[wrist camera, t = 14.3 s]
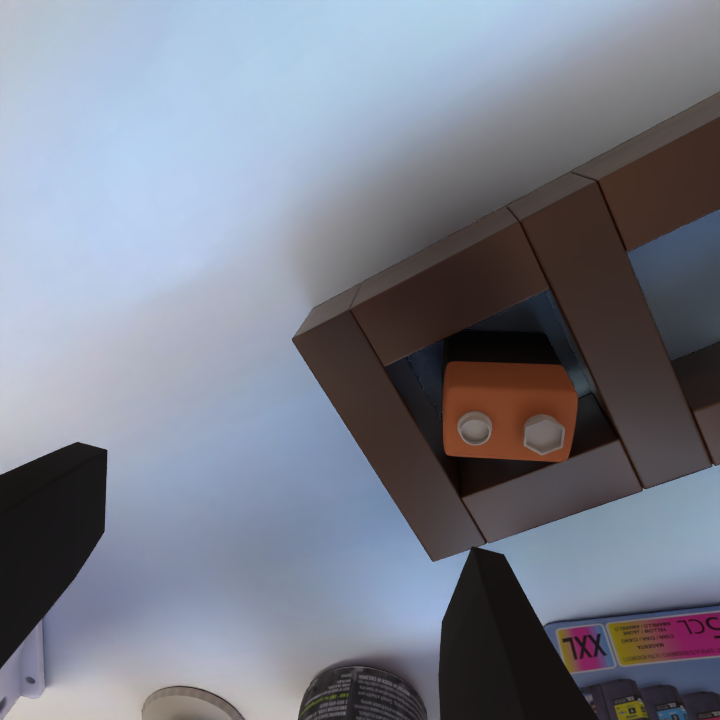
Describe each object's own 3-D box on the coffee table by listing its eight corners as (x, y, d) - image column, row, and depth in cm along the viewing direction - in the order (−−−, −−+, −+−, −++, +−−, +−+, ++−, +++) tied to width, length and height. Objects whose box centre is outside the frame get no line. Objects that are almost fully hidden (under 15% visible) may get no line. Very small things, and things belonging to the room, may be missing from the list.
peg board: (433, 506, 21) (432, 563, 18) (311, 308, 19) (290, 339, 16) (914, 326, 16) (1011, 366, 14) (839, 27, 14) (939, 2, 11)
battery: (541, 390, 19) (575, 476, 14) (440, 386, 19) (441, 468, 14) (548, 330, 18) (587, 400, 13) (443, 327, 18) (445, 394, 14)
